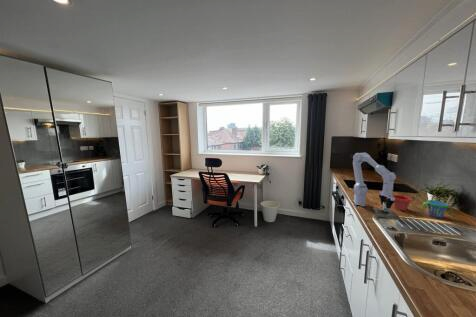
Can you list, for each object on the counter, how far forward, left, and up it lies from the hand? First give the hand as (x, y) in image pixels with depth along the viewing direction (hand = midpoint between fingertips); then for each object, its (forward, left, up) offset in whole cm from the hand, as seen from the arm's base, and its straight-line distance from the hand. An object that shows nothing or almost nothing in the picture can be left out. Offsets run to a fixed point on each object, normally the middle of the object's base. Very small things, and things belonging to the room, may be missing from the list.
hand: (385, 206), depth 136 cm
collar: (0, 0, -6) cm, 6 cm away
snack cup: (-7, +34, -7) cm, 35 cm away
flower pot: (-15, +16, -7) cm, 23 cm away
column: (0, 0, -4) cm, 4 cm away
